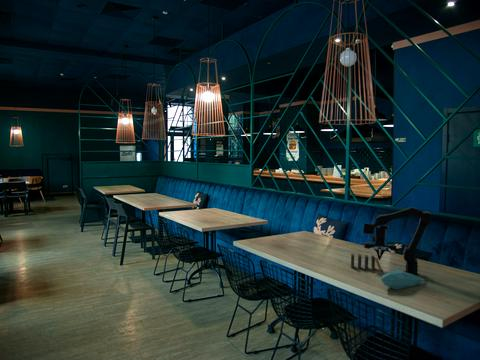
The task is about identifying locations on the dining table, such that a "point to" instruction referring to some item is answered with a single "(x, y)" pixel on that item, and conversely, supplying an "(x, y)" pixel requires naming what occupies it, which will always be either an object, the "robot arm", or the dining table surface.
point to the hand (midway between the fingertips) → (379, 259)
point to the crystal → (400, 279)
